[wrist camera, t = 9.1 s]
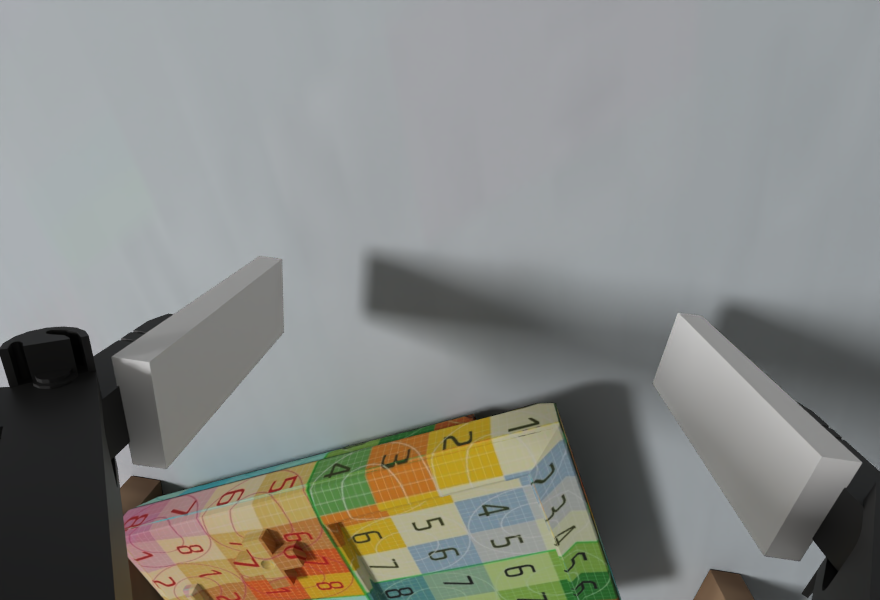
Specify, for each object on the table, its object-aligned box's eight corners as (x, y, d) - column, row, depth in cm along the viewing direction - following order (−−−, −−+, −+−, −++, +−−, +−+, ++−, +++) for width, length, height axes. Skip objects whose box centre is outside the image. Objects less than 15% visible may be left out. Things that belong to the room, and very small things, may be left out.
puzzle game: (89, 553, 19) (565, 439, 15) (162, 470, 23) (545, 364, 19) (232, 712, 23) (638, 656, 19) (271, 615, 27) (607, 553, 23)
